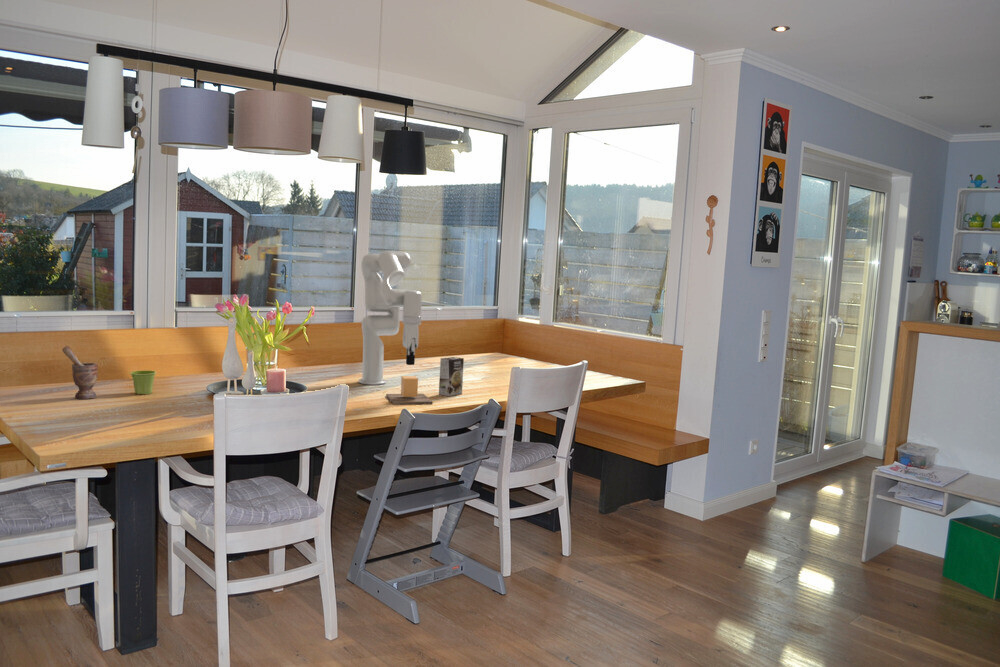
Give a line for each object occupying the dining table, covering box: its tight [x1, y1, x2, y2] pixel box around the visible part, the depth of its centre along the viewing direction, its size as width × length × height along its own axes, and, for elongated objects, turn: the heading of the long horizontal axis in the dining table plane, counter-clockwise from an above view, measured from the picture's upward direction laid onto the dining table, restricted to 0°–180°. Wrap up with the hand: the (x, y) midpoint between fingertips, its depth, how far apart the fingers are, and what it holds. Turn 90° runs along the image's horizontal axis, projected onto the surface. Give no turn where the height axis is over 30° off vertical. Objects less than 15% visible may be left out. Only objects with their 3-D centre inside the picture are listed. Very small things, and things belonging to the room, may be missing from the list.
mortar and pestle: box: [62, 345, 98, 400], centre depth 294 cm, size 12×9×20 cm
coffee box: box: [438, 356, 465, 397], centre depth 338 cm, size 9×6×16 cm
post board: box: [385, 393, 433, 406], centre depth 321 cm, size 18×16×9 cm
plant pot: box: [130, 370, 157, 395], centre depth 308 cm, size 9×9×9 cm
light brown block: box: [400, 375, 419, 397], centre depth 321 cm, size 6×6×8 cm
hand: (410, 364), depth 320 cm, fingers closed
